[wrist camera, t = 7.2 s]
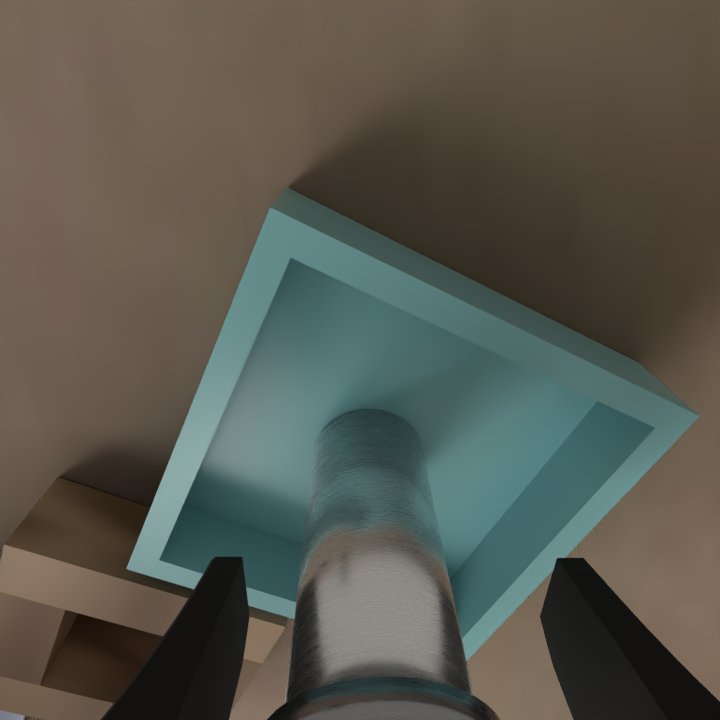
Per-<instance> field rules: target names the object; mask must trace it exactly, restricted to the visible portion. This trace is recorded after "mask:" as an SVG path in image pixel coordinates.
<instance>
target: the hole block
mask: <svg viewBox="0 0 720 720" xmlns="http://www.w3.org/2000/svg"><path fill="white" fill-rule="evenodd" d="M150 508H151V507H148V506H145V505H142V504H139V503H136V502H132V501H129V500H126V499H123V498H120V497H117V496H114V495H111V494H108V493H105V492H102V491H99V490H96V489H93V488H90V487H87V486H84V485H81V484H78V483H75V482H72V481H69V480H66V479H63V478H59V477H58V478H57V479H56V480H55V482H54V483H53V484H52V485H51V487H50V488H49V489H48V490H47V492H46V493H45V494H44V495H43V497H42V498H41V499H40V500H39V502H38V503H37V504H36V505H35V507H34V508H33V509H32V510H31V512H30V513H29V514H28V515H27V517H26V518H25V519H24V520H23V522H22V523H21V524H20V525H19V527H18V528H17V529H16V530H15V532H14V533H13V534H12V535H11V537H10V538H9V539H8V540H7V542H6V543H5V544H4V547H3V552H2V556H1V560H0V710H2V711H6V712H11V713H15V714H19V715H24V716H28V717H33V718H37V719H42V720H101V718H102V717H103V716H104V715H105V714H106V712H107V711H108V710H109V709H110V707H111V706H112V705H113V704H114V702H115V701H116V700H117V699H118V697H119V696H120V695H121V693H122V692H123V691H124V689H125V688H126V687H127V685H128V684H129V683H130V681H131V680H132V679H133V677H134V676H135V675H136V673H137V672H138V671H139V669H140V668H141V667H142V665H143V664H144V663H145V661H146V660H147V659H148V657H149V656H150V655H151V653H152V652H153V650H154V649H155V648H156V646H157V645H158V643H159V642H160V640H161V639H162V637H163V636H164V634H165V633H166V632H167V630H168V629H169V627H170V626H171V624H172V623H173V621H174V620H175V618H176V617H177V615H178V614H179V612H180V611H181V609H182V608H183V606H184V604H185V603H186V601H187V600H188V598H189V597H190V595H191V593H192V592H193V590H194V589H191V588H188V587H185V586H181V585H178V584H175V583H171V582H168V581H165V580H161V579H158V578H154V577H151V576H148V575H144V574H141V573H138V572H134V571H131V570H128V569H126V568H127V566H128V563H129V561H130V558H131V556H132V553H133V551H134V548H135V546H136V543H137V541H138V538H139V536H140V533H141V531H142V528H143V525H144V523H145V520H146V518H147V515H148V513H149V510H150ZM249 615H250V617H249V624H248V631H247V638H246V645H245V651H244V658H243V664H242V669H241V673H240V677H239V681H238V685H237V689H236V693H235V697H234V701H233V705H232V709H233V708H234V706H235V705H236V703H237V701H238V700H239V698H240V697H241V695H242V694H243V692H244V691H245V689H246V688H247V686H248V685H249V683H250V682H251V680H252V679H253V677H254V676H255V674H256V672H257V671H258V669H259V668H260V666H261V665H262V663H263V662H264V660H265V659H266V657H267V656H268V654H269V653H270V651H271V650H272V648H273V646H274V645H275V643H276V642H277V640H278V639H279V637H280V636H281V634H282V633H283V631H284V630H285V628H286V624H287V617H285V616H282V615H278V614H275V613H272V612H268V611H265V610H262V609H258V608H255V607H252V606H249ZM232 709H231V711H232Z"/></svg>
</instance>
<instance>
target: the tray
mask: <svg viewBox="0 0 720 720" xmlns="http://www.w3.org/2000/svg"><path fill="white" fill-rule="evenodd" d="M358 409H379V410H384V411H388V412H391V413H393V414H396V415H398V416H400V417H401V418H403V419H404V420H406V421H407V422H408V423H409V424H410V425H411V426H412V427H413V428H414V429H415V431H416V432H417V434H418V436H419V438H420V441H421V445H422V449H423V454H424V459H425V464H426V469H427V474H428V478H429V483H430V488H431V493H432V498H433V502H434V507H435V512H436V517H437V522H438V527H439V531H440V536H441V541H442V546H443V551H444V555H445V560H446V565H447V570H448V575H449V580H450V584H451V589H452V594H453V599H454V604H455V608H456V613H457V618H458V623H459V628H460V632H461V637H462V642H463V647H464V652H465V657H466V661H467V660H468V659H469V658H470V657H471V656H472V655H473V654H474V653H475V652H476V650H477V649H478V648H479V647H480V646H481V645H482V644H483V643H484V642H485V641H486V640H487V639H488V638H489V637H490V636H491V635H492V634H493V633H494V632H495V631H496V629H497V628H498V627H499V626H500V625H501V624H502V623H503V622H504V621H505V620H506V619H507V618H508V617H509V616H510V615H511V614H512V613H513V612H514V611H515V610H516V609H517V607H518V606H519V605H520V604H521V603H522V602H523V601H524V600H525V599H526V598H527V597H528V596H529V595H530V594H531V593H532V592H533V591H534V590H535V589H536V588H537V586H538V585H539V584H540V583H541V582H542V581H543V580H544V579H545V578H546V577H547V576H548V575H549V574H550V573H551V572H552V571H553V570H554V566H555V563H556V559H557V558H565V557H566V556H567V555H568V554H569V553H570V552H571V551H572V550H573V549H574V548H575V547H576V546H577V545H578V543H579V542H580V541H581V540H582V539H583V538H584V537H585V536H586V535H587V534H588V533H589V532H590V531H591V530H592V529H593V528H594V527H595V526H596V525H597V524H598V522H599V521H600V520H601V519H602V518H603V517H604V516H605V515H606V514H607V513H608V512H609V511H610V510H611V509H612V508H613V507H614V506H615V505H616V504H617V503H618V501H619V500H620V499H621V498H622V497H623V496H624V495H625V494H626V493H627V492H628V491H629V490H630V489H631V488H632V487H633V486H634V485H635V484H636V483H637V482H638V480H639V479H640V478H641V477H642V476H643V475H644V474H645V473H646V472H647V471H648V470H649V469H650V468H651V467H652V466H653V465H654V464H655V463H656V462H657V461H658V460H659V458H660V457H661V456H662V455H663V454H664V453H665V452H666V451H667V450H668V449H669V448H670V447H671V446H672V445H673V444H674V443H675V442H676V441H677V440H678V439H679V437H680V436H681V435H682V434H683V433H684V432H685V431H686V430H687V429H688V428H689V427H690V426H691V425H692V424H693V423H694V422H695V421H696V420H697V419H698V418H699V415H698V414H697V413H696V412H695V411H693V410H692V409H691V408H690V407H689V406H688V405H687V404H685V403H684V402H683V401H682V400H681V399H680V398H679V397H678V396H676V395H675V394H674V393H673V392H672V391H671V390H670V389H668V388H667V387H666V386H665V385H664V384H663V383H662V382H660V381H659V380H658V379H657V378H656V377H655V376H654V375H653V374H651V373H650V372H649V371H648V370H647V369H646V368H645V367H643V366H642V365H641V364H640V363H638V362H636V361H634V360H632V359H630V358H628V357H626V356H624V355H622V354H620V353H618V352H616V351H614V350H612V349H610V348H608V347H606V346H604V345H602V344H600V343H598V342H596V341H594V340H592V339H590V338H588V337H586V336H584V335H582V334H580V333H578V332H576V331H574V330H572V329H570V328H568V327H566V326H564V325H562V324H560V323H558V322H556V321H554V320H552V319H550V318H548V317H546V316H544V315H542V314H540V313H538V312H536V311H534V310H532V309H530V308H528V307H526V306H524V305H522V304H520V303H518V302H516V301H514V300H512V299H510V298H508V297H506V296H504V295H502V294H500V293H498V292H496V291H494V290H492V289H490V288H488V287H486V286H484V285H482V284H480V283H478V282H476V281H474V280H472V279H470V278H468V277H466V276H464V275H462V274H460V273H458V272H456V271H454V270H452V269H450V268H448V267H446V266H444V265H442V264H440V263H438V262H436V261H434V260H432V259H430V258H428V257H426V256H424V255H422V254H420V253H418V252H416V251H414V250H412V249H410V248H408V247H406V246H404V245H402V244H400V243H398V242H396V241H394V240H392V239H390V238H388V237H386V236H384V235H382V234H380V233H378V232H376V231H374V230H372V229H370V228H368V227H366V226H364V225H362V224H360V223H358V222H356V221H354V220H352V219H350V218H348V217H346V216H344V215H342V214H340V213H338V212H336V211H334V210H332V209H329V208H327V207H325V206H323V205H321V204H319V203H317V202H315V201H313V200H311V199H309V198H307V197H305V196H303V195H301V194H299V193H297V192H295V191H293V190H291V189H289V188H286V189H285V190H284V191H283V193H282V194H281V195H280V196H279V197H278V199H277V200H276V201H275V202H274V203H273V204H272V206H271V207H270V209H269V211H268V214H267V216H266V219H265V221H264V224H263V226H262V229H261V231H260V234H259V236H258V239H257V241H256V244H255V246H254V249H253V251H252V254H251V256H250V259H249V261H248V264H247V267H246V269H245V272H244V274H243V277H242V279H241V282H240V284H239V287H238V289H237V292H236V294H235V297H234V299H233V302H232V304H231V307H230V309H229V312H228V314H227V317H226V319H225V322H224V324H223V327H222V329H221V332H220V334H219V337H218V339H217V342H216V344H215V347H214V349H213V352H212V355H211V357H210V360H209V362H208V365H207V367H206V370H205V372H204V375H203V377H202V380H201V382H200V385H199V387H198V390H197V392H196V395H195V397H194V400H193V402H192V405H191V407H190V410H189V412H188V415H187V417H186V420H185V422H184V425H183V427H182V430H181V432H180V435H179V437H178V440H177V443H176V445H175V448H174V450H173V453H172V455H171V458H170V460H169V463H168V465H167V468H166V470H165V473H164V475H163V478H162V480H161V483H160V485H159V488H158V490H157V493H156V495H155V498H154V500H153V503H152V505H151V508H150V510H149V513H148V515H147V518H146V520H145V523H144V525H143V528H142V531H141V533H140V536H139V538H138V541H137V543H136V546H135V548H134V551H133V553H132V556H131V558H130V561H129V563H128V566H127V568H126V569H128V570H131V571H134V572H138V573H141V574H144V575H148V576H151V577H154V578H158V579H161V580H165V581H168V582H171V583H175V584H178V585H181V586H185V587H188V588H191V589H195V587H196V585H197V584H198V582H199V580H200V579H201V577H202V575H203V574H204V572H205V570H206V568H207V566H208V565H209V563H210V561H211V560H212V559H213V558H214V557H243V566H244V574H245V582H246V590H247V598H248V606H252V607H255V608H258V609H262V610H265V611H268V612H272V613H275V614H278V615H282V616H285V617H288V618H292V619H294V618H295V609H296V600H297V591H298V582H299V574H300V565H301V556H302V547H303V538H304V529H305V521H306V512H307V503H308V494H309V485H310V476H311V468H312V459H313V450H314V444H315V441H316V439H317V437H318V435H319V433H320V432H321V430H322V429H323V428H324V427H325V426H326V425H327V424H328V423H329V422H330V421H331V420H333V419H334V418H336V417H338V416H340V415H342V414H344V413H347V412H350V411H353V410H358Z"/></svg>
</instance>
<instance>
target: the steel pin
mask: <svg viewBox="0 0 720 720" xmlns="http://www.w3.org/2000/svg"><path fill="white" fill-rule="evenodd" d="M267 720H500V719H499V718H498V716H497V715H496V714H495V712H494V711H493V710H492V709H491V708H490V707H489V706H487V705H486V704H485V703H484V702H482V701H481V700H479V699H478V698H476V697H475V696H474V695H473V690H472V685H471V681H470V676H469V671H468V666H467V661H466V657H465V652H464V647H463V642H462V637H461V632H460V628H459V623H458V618H457V613H456V608H455V604H454V599H453V594H452V589H451V584H450V580H449V575H448V570H447V565H446V560H445V555H444V551H443V546H442V541H441V536H440V531H439V527H438V522H437V517H436V512H435V507H434V502H433V498H432V493H431V488H430V483H429V478H428V474H427V469H426V464H425V459H424V454H423V449H422V445H421V441H420V438H419V436H418V434H417V432H416V431H415V429H414V428H413V427H412V426H411V425H410V424H409V423H408V422H407V421H406V420H404V419H403V418H401V417H400V416H398V415H396V414H393V413H391V412H388V411H384V410H379V409H358V410H353V411H350V412H347V413H344V414H342V415H340V416H338V417H336V418H334V419H333V420H331V421H330V422H329V423H328V424H327V425H326V426H325V427H324V428H323V429H322V430H321V432H320V433H319V435H318V437H317V439H316V441H315V444H314V450H313V459H312V468H311V476H310V485H309V494H308V503H307V512H306V521H305V529H304V538H303V547H302V556H301V565H300V574H299V582H298V591H297V600H296V609H295V618H294V627H293V635H292V644H291V653H290V662H289V671H288V680H287V688H286V697H285V704H284V705H282V706H281V707H280V708H279V709H277V710H276V711H275V712H274V713H273V714H272V715H271V716H270V717H269V718H268V719H267Z"/></svg>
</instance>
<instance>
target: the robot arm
mask: <svg viewBox="0 0 720 720" xmlns="http://www.w3.org/2000/svg"><path fill="white" fill-rule="evenodd" d="M249 617H250V615H249V606H248V598H247V590H246V582H245V574H244V566H243V557H214V558H213V559H212V560H211V561H210V563H209V565H208V566H207V568H206V570H205V572H204V574H203V575H202V577H201V579H200V580H199V582H198V584H197V585H196V587H195V589H194V590H193V592H192V593H191V595H190V597H189V598H188V600H187V601H186V603H185V604H184V606H183V608H182V609H181V611H180V612H179V614H178V615H177V617H176V618H175V620H174V621H173V623H172V624H171V626H170V627H169V629H168V630H167V632H166V633H165V634H164V636H163V637H162V639H161V640H160V642H159V643H158V645H157V646H156V648H155V649H154V650H153V652H152V653H151V655H150V656H149V657H148V659H147V660H146V661H145V663H144V664H143V665H142V667H141V668H140V669H139V671H138V672H137V673H136V675H135V676H134V677H133V679H132V680H131V681H130V683H129V684H128V685H127V687H126V688H125V689H124V691H123V692H122V693H121V695H120V696H119V697H118V699H117V700H116V701H115V702H114V704H113V705H112V706H111V707H110V709H109V710H108V711H107V712H106V714H105V715H104V716H103V717H102V718H101V720H229V717H230V713H231V709H232V705H233V701H234V697H235V693H236V689H237V685H238V681H239V677H240V673H241V669H242V664H243V658H244V651H245V645H246V638H247V631H248V624H249ZM540 618H541V622H542V626H543V630H544V634H545V638H546V642H547V645H548V649H549V653H550V656H551V660H552V663H553V666H554V669H555V672H556V675H557V677H558V680H559V683H560V685H561V688H562V690H563V693H564V696H565V698H566V701H567V704H568V706H569V709H570V711H571V714H572V717H573V719H574V720H720V701H718V700H717V699H716V698H715V697H714V696H713V695H712V694H711V693H710V692H709V691H708V690H707V689H706V688H705V687H704V686H703V685H702V684H701V683H700V682H699V681H698V680H697V679H696V678H695V677H694V676H693V675H692V674H691V673H690V672H689V671H688V670H687V669H686V668H685V667H684V666H683V665H682V664H681V663H680V662H679V661H678V660H677V659H676V658H675V657H674V656H673V655H672V654H671V653H670V652H669V651H668V650H667V649H666V648H665V647H664V646H663V644H662V643H661V642H660V641H659V640H658V639H657V638H656V637H655V636H654V635H653V634H652V633H651V632H650V631H649V630H648V629H647V628H646V627H645V626H644V624H643V623H642V622H641V621H640V620H639V619H638V618H637V617H636V616H635V615H634V614H633V612H632V611H631V610H630V609H629V608H628V607H627V606H626V605H625V604H624V603H623V601H622V600H621V599H620V598H619V597H618V596H617V595H616V594H615V593H614V591H613V590H612V589H611V588H610V587H609V586H608V585H607V584H606V583H605V581H604V580H603V579H602V578H601V577H600V576H599V575H598V574H597V573H596V571H595V570H594V569H593V568H592V567H591V566H590V565H589V564H588V563H587V562H586V561H585V559H584V558H557V559H556V563H555V566H554V570H553V573H552V577H551V580H550V584H549V587H548V591H547V594H546V598H545V601H544V605H543V608H542V612H541V615H540ZM24 719H25V716H24V715H19V714H15V713H11V712H6V711H2V710H0V720H24Z"/></svg>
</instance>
